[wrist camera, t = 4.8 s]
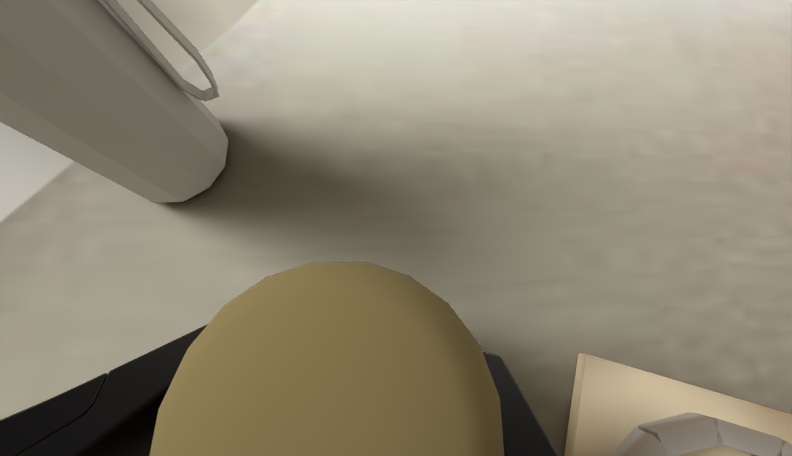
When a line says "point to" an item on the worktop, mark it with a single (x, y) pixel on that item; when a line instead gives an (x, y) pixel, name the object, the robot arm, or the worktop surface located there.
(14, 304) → the worktop surface
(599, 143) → the worktop surface
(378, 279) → the cork
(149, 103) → the water bottle
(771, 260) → the worktop surface
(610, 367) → the seat
